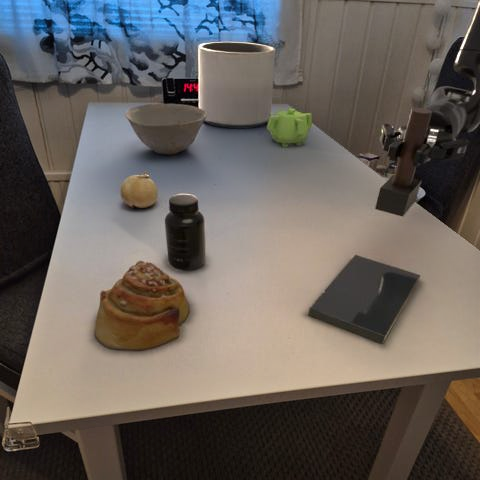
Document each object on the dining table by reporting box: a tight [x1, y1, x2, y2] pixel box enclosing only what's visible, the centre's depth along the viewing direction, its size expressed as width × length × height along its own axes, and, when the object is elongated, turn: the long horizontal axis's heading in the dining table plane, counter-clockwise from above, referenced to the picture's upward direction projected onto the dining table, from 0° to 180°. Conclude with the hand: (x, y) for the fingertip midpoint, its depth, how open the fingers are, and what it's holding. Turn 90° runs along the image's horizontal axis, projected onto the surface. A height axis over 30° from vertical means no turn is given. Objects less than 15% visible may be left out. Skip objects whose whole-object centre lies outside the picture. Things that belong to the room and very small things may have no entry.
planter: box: [197, 41, 276, 129], centre depth 150 cm, size 25×25×22 cm
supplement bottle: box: [164, 193, 207, 271], centre depth 77 cm, size 7×7×12 cm
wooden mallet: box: [374, 107, 432, 217], centre depth 66 cm, size 7×4×14 cm, turn 148°
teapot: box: [266, 108, 313, 148], centre depth 136 cm, size 12×12×10 cm
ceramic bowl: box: [124, 103, 207, 156], centre depth 126 cm, size 22×23×10 cm
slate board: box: [307, 254, 421, 345], centre depth 74 cm, size 20×12×2 cm, turn 148°
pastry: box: [94, 260, 191, 351], centre depth 65 cm, size 13×15×8 cm
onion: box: [119, 170, 159, 209], centre depth 97 cm, size 8×8×7 cm
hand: (405, 156), depth 63 cm, fingers closed on wooden mallet, 3 cm apart
